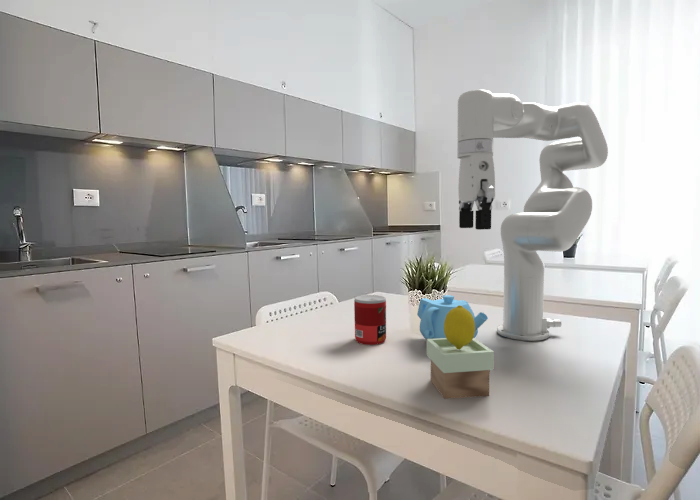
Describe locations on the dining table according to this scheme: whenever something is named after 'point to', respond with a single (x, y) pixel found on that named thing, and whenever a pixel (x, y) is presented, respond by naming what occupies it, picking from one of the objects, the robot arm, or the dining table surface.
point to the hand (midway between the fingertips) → (474, 228)
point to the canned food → (370, 319)
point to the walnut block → (460, 383)
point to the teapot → (442, 315)
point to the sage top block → (460, 356)
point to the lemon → (459, 327)
